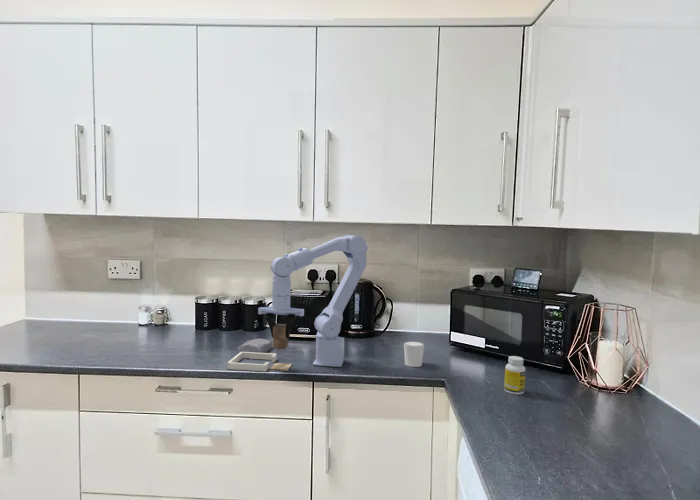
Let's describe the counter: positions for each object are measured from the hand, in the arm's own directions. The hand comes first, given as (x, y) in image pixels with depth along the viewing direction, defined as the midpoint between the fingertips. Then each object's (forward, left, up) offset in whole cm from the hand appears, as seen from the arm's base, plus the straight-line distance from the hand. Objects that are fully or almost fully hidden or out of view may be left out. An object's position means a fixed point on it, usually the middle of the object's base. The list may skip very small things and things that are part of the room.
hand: (280, 337), depth 144 cm
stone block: (+14, -16, -10) cm, 24 cm away
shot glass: (-43, -11, -10) cm, 45 cm away
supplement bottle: (-71, +9, -10) cm, 72 cm away
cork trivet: (0, 0, -10) cm, 10 cm away
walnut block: (0, 0, -3) cm, 3 cm away
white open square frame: (+10, -1, -10) cm, 14 cm away
